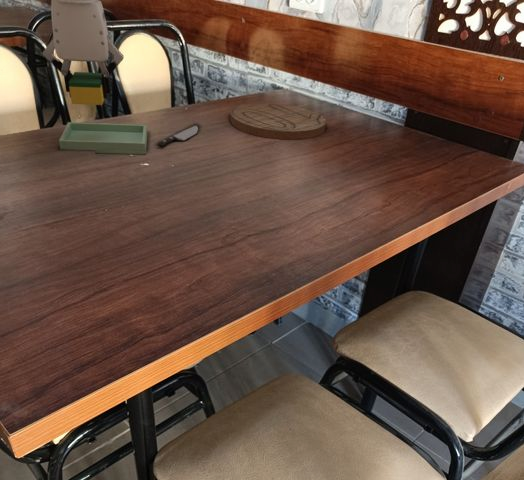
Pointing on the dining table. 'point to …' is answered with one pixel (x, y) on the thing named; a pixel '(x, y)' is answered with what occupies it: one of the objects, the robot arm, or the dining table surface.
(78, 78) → the sponge
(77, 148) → the tray
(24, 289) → the dining table surface
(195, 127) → the chef's knife
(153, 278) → the dining table surface
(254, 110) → the trivet
